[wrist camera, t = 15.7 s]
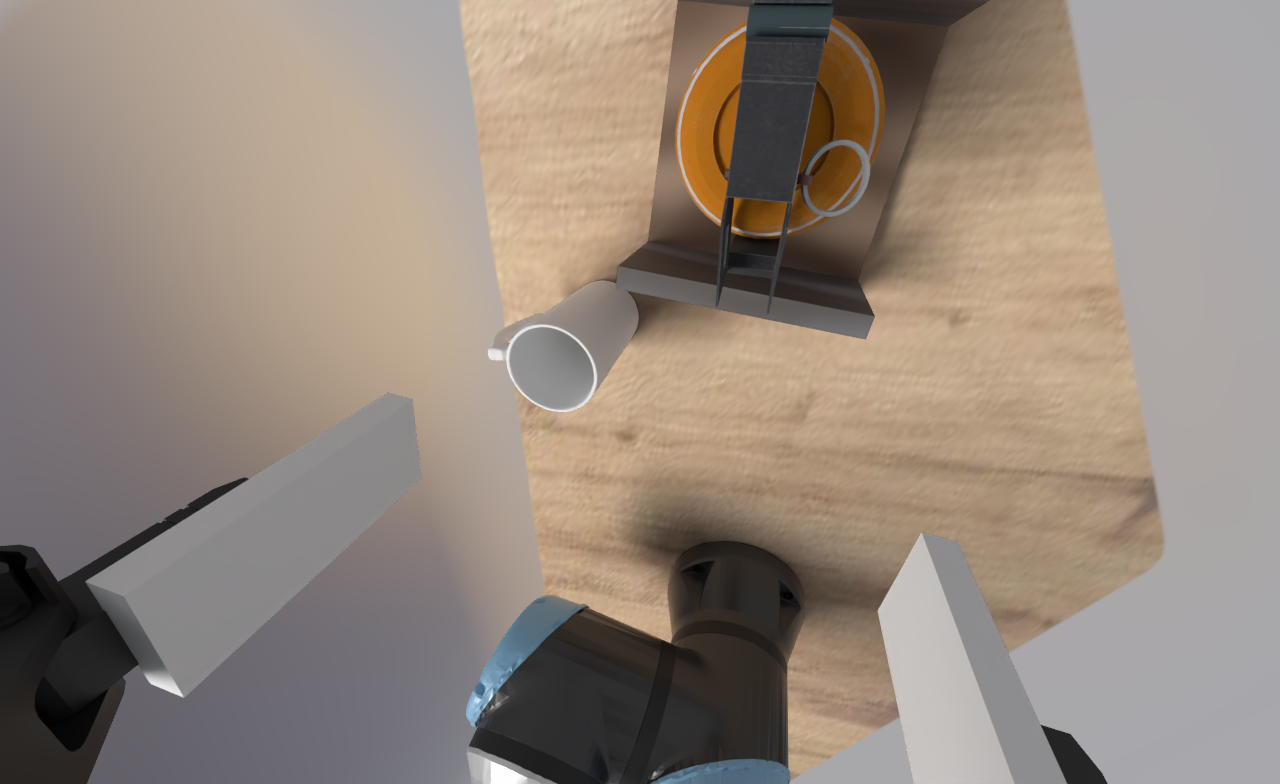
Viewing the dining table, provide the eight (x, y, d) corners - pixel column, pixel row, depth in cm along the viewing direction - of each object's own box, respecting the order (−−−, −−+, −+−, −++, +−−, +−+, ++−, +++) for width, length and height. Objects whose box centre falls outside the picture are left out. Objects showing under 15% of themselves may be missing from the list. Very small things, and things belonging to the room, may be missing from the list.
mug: (643, 280, 41) (596, 330, 31) (641, 352, 44) (598, 418, 34) (535, 270, 43) (458, 313, 33) (541, 339, 46) (472, 398, 36)
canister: (868, 54, 29) (982, -53, 12) (824, 241, 34) (860, 349, 17) (720, 50, 31) (639, -48, 14) (700, 228, 36) (624, 314, 19)
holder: (846, 300, 37) (862, 346, 29) (649, 262, 40) (615, 295, 32) (956, -12, 28) (1025, -70, 20) (687, -34, 30) (651, -93, 22)
